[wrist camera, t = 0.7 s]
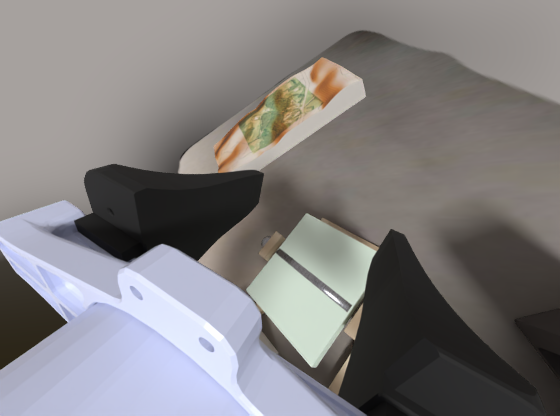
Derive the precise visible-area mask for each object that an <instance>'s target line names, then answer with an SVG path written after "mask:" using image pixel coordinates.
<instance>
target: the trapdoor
mask: <svg viewBox="0 0 560 416" xmlns="http://www.w3.org/2000/svg"><path fill="white" fill-rule="evenodd" d="M376 252H377V251H375V250H373V249H371V248H369V247H368V246H366V245H364V244H362V243H360V242H359V241H357V240H355V239H353V238H351V237H349V236H348V235H346V234H344V233H342V232H340V231H338V230H337V229H335V228H333V227H331V226H329V225H328V224H326V223H324V222H322V221H320V220H318V219H317V218H315V217H313V216H311V215H309V214H307V213H306V214H305V216H304V217H303V218H302V219H301V221H300V222H299V223H298V225H297V226H296V227H295V228H294V230H293V231H292V232H291V233H290V235H289V236H288V237H287V239H286V240H285V241H284V242H283V244H282V245H281V246H280V247H279V249H278V250H277V251H276V253H275V254H274V255H273V256H272V258H271V259H270V260H269V261H268V263H267V264H266V265H265V266H264V268H263V269H262V270H261V272H260V273H259V274H258V275H257V277H256V278H255V279H254V280H253V282H252V283H251V284H250V286H249V287H248V288H247V289H246V291H247V292H248V293H249V294H250V296H251V297H252V298H253V299H254V300H255V302H256V303H257V304H258V305H259V306H260V307H261V309H262V310H263V311H264V312H265V313H266V314H267V316H268V317H269V318H270V319H271V320H272V322H273V323H274V324H275V325H276V326H277V327H278V329H279V330H280V331H281V332H282V333H283V335H284V336H285V337H286V338H287V339H288V340H289V342H290V343H291V344H292V345H293V346H294V347H295V349H296V350H297V351H298V352H299V353H300V355H301V356H302V357H303V358H304V359H305V360H306V362H307V363H308V364H309V365H310V366H311V367H315V368H316V367H317V366H318V364H319V363H320V361H321V360H322V358H323V357H324V355H325V354H326V352H327V351H328V349H329V348H330V347H331V345H332V344H333V342H334V341H335V339H336V338H337V336H338V335H339V333H340V332H341V330H342V329H343V327H344V326H345V325H346V323H347V322H348V320H349V319H350V317H351V316H352V314H353V313H354V311H355V310H356V308H357V307H358V306H359V304H360V303H361V301H362V300H363V298H364V293H365V287H366V280H367V274H368V271H369V267H370V264H371V261H372V258H373V256H374V255H375V253H376Z"/></svg>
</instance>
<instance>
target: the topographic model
mask: <svg viewBox="0 0 560 416" xmlns="http://www.w3.org/2000/svg"><path fill="white" fill-rule="evenodd" d="M364 97H366V94H365V90H364V85H363V80H362V79H361V78H359V77H357V76H356V75H354V74H353V73H351V72H350V71H348V70H346V69H345V68H343V67H341V66H339V65H337V64H335V63H333V62H331V61H329V60H327V59H325V58H321V59H319V60H318V61H317V62H316V63H315V64H314V65H312V66H311V67H309V68H307V69H306V70H304V71H302V72H300V73H298V74H296V75H294V76H292V77H291V78H289V79H288V80H286V81H285V82H283V83H282V84H281V85H279V86H278V87H277V88H276V89H274V90H273V91H272V92H271V93H270V94H268V95H267V96H266V97H265V98H264V100H263V101H262V102H261V103H260V104H259V105H258V107H257V108H256V109H255V110H253V111H251V112H249V113H248V114H247V115H246V116H244V117H243V118H242V119H241V120H240V121H239V122H238V123H237V124H236V125H235V126H234V127H233V128H232V129H231V130H230V131H229V132H228V133H227V134H226V135H225V136H224V138H223V139H222V140H220V141H219V142H218V143H217V144H215V145H214V146H213V147H214V151H215V158H216V161H217V164H218V167H219V169H218V173H224V172H233V171H241V170H257V171H259V170H261V169H262V168H263V167H265V166H266V165H268V164H269V163H271V162H272V161H274V160H275V159H276V158H278V157H279V156H281V155H282V154H284V153H285V152H287V151H288V150H289V149H291V148H292V147H294V146H295V145H297V144H298V143H300V142H301V141H302V140H304V139H305V138H307V137H308V136H310V135H311V134H313V133H314V132H315V131H317V130H318V129H320V128H321V127H323V126H324V125H325V124H327V123H328V122H330V121H331V120H333V119H334V118H336V117H337V116H338V115H340V114H341V113H343V112H344V111H346V110H347V109H349V108H350V107H351V106H353V105H354V104H356V103H357V102H359V101H360V100H362V99H363V98H364Z"/></svg>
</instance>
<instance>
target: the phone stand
mask: <svg viewBox="0 0 560 416" xmlns="http://www.w3.org/2000/svg"><path fill="white" fill-rule="evenodd" d="M515 322H516V324H517V325H518V327H519V328H520V329H521V331H522V332H523V333H524V334H525V336H526V337H527V338H528V340H529V341H530V342H531V344H532V345H533V346H534V347H535V349H536V350H537V351H538V353H539V354H540V355H541V357H542V358H543V359H544V360H545V362H546V363H547V364H548V366H549V367H550V368H551V370H552V371H553V372H554V373H555V375H556V376H557V377H558V379H559V380H560V309H556V310H552V311H548V312H544V313H540V314H536V315H531V316H527V317H523V318H519V319H515Z"/></svg>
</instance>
